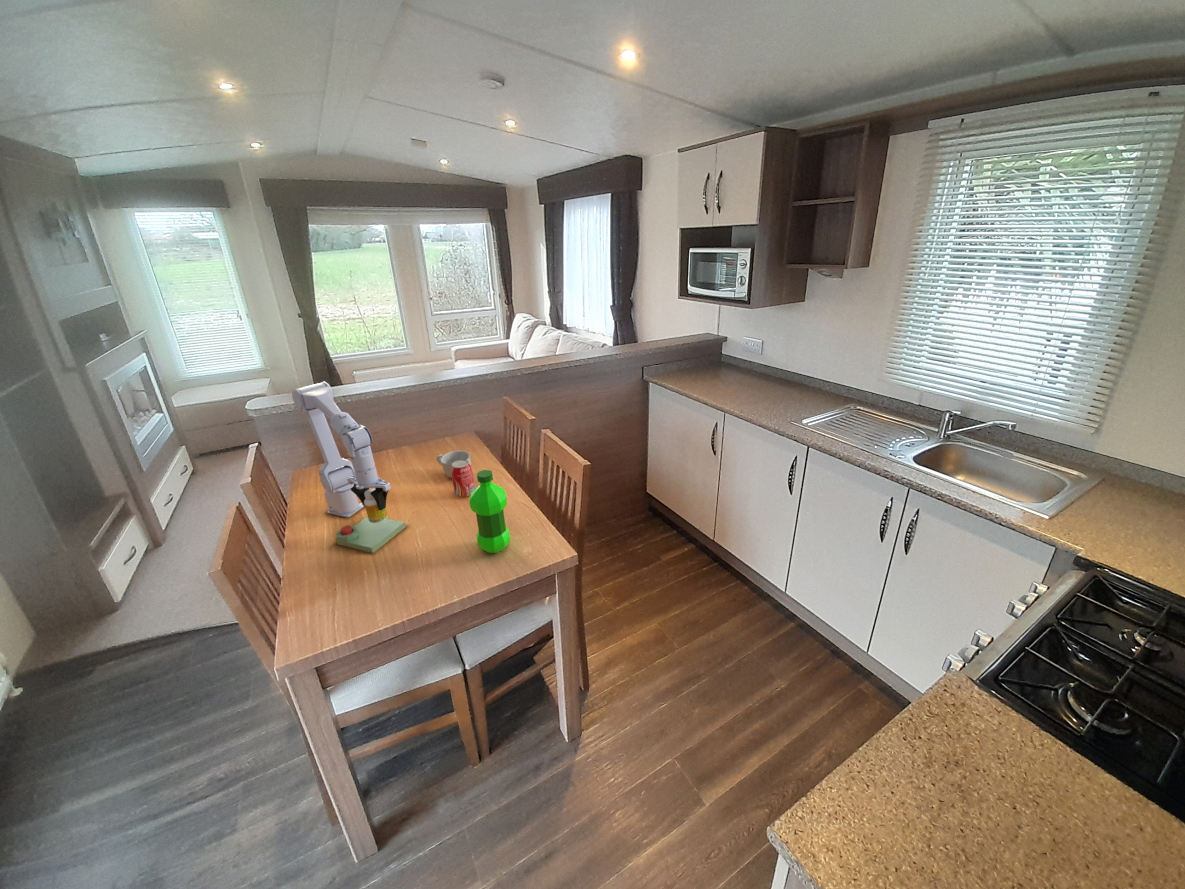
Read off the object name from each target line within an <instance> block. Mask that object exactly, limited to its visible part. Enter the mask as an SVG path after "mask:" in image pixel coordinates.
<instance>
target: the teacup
mask: <svg viewBox="0 0 1185 889" xmlns="http://www.w3.org/2000/svg"><path fill="white" fill-rule="evenodd" d="M457 460H467V461H468V462H469V464H470V465H471V466H472V459H471V454H470V452H468V451H467V450H452V451H450V452H447V453H445V454H442V453H441V454H440V453H439V454H438V455H437V456H436V461H437V462H438V464H439V465H440V466H441V467H442V470H443V473H444V474H445V476H446V477H447V478H451V479H452V475H451V467H452V463H453V462H455V461H457Z"/></svg>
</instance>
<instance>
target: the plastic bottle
mask: <svg viewBox="0 0 1185 889" xmlns="http://www.w3.org/2000/svg"><path fill="white" fill-rule="evenodd" d="M476 479H477V483H479V485H478V486H476V487H474V490H473V491H472V492H471V493H470V495H469V496H468V497H469V498H468V499H469V508H470V510H471V512H473V513H475V515H476V520H477V521H476V523H477V529H478V530H477V533H476V543H477V546H478V547H479V548H480V549H481V550H483V551H485V552H486V553H489V554H498V553H499V552H502V551H503V550H504V549H505V548H506V547H507V546H508V545H509V543H510V541H511V535H510V534H511V533H510V529H509V527H508V526H507V525H506V520H505V519H506V518H505V512H504V509H505V508H506V507H507V504H508V501H507V493H506V490H505V489H504V488H503V487H501V485H498V484H496V483H493V482H492V481H493V480H494V476H493V471H492V470H490V469H482V470H480V471H478V472H477V473H476Z"/></svg>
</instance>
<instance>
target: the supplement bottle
mask: <svg viewBox="0 0 1185 889" xmlns="http://www.w3.org/2000/svg"><path fill="white" fill-rule="evenodd" d="M374 490H376V489H375V488H369V490H367V491H366V492H365V493H364V495H365V500H364V505H365V507H364V508H365V511H366V512H365V513H366V516H367V517H368V519H369V522H371V523H380V522H383V521H384V520H386V519H387V518H388V512H387V507H386V508H384V509H383V510H379V508H378V506H377V503H376V501H375V499H374V497H373V496H372V495H371V494H370V493H371V492H372V491H374Z"/></svg>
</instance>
